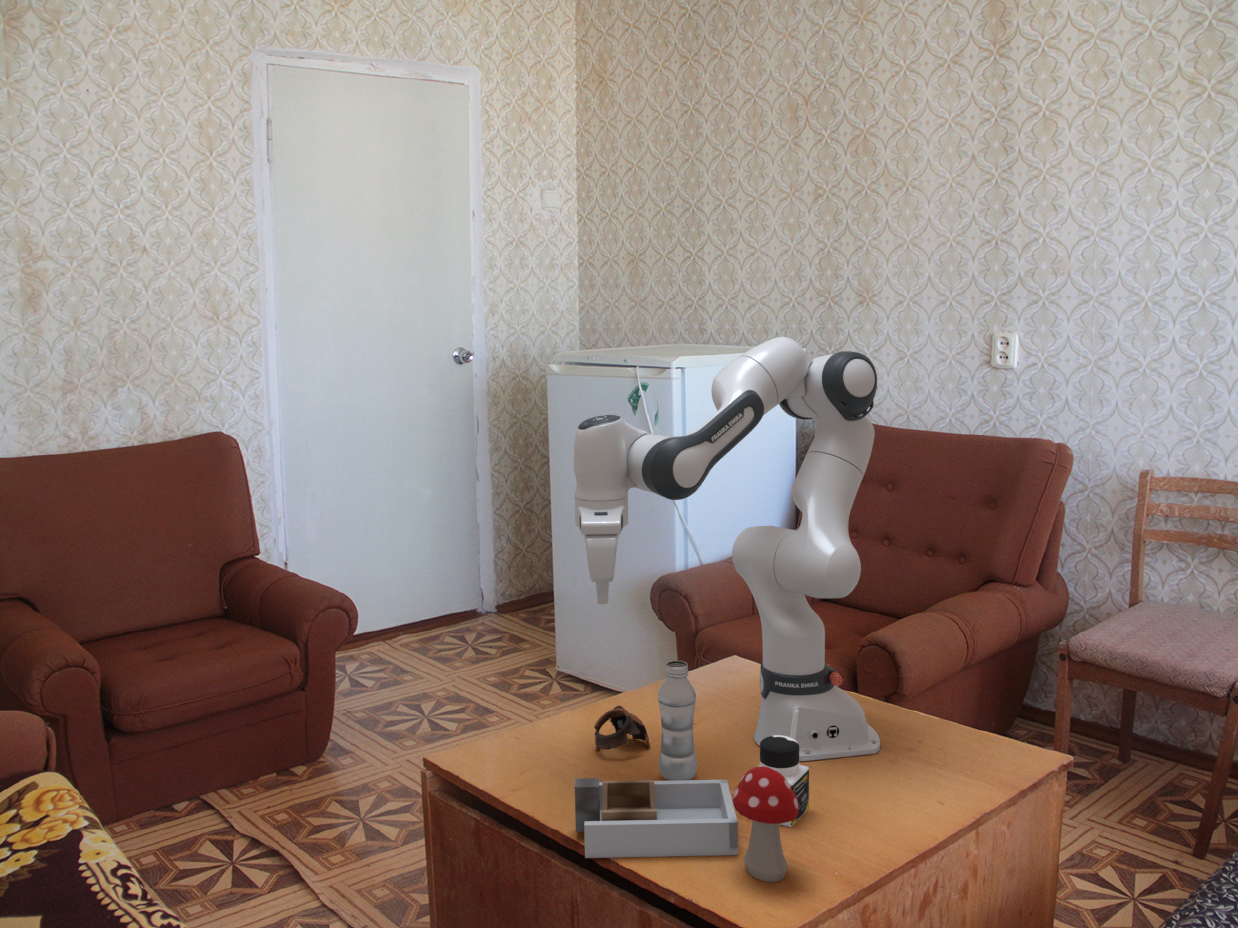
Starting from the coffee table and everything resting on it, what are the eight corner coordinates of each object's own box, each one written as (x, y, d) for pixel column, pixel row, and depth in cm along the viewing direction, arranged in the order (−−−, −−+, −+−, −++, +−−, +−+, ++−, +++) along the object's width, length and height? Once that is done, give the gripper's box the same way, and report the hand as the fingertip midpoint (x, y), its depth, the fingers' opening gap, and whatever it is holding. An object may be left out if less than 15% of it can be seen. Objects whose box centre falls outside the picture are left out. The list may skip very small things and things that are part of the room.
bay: (727, 809, 163) (726, 779, 162) (737, 854, 149) (737, 822, 149) (587, 812, 163) (586, 782, 162) (585, 857, 149) (584, 825, 148)
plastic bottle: (671, 790, 170) (670, 673, 167) (651, 774, 176) (649, 661, 173) (705, 781, 173) (704, 666, 170) (684, 766, 179) (683, 655, 176)
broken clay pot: (658, 757, 184) (639, 725, 181) (611, 781, 184) (591, 749, 181) (645, 717, 195) (627, 685, 192) (601, 739, 195) (581, 708, 192)
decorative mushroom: (812, 878, 143) (813, 775, 141) (763, 896, 138) (763, 790, 136) (767, 847, 151) (767, 749, 149) (719, 863, 147) (719, 763, 145)
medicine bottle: (791, 828, 157) (792, 752, 155) (748, 817, 161) (748, 743, 159) (809, 809, 163) (810, 736, 161) (767, 798, 167) (767, 727, 165)
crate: (654, 809, 161) (653, 766, 160) (657, 842, 151) (656, 796, 150) (577, 810, 161) (576, 767, 160) (574, 843, 151) (573, 798, 150)
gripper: (584, 503, 182) (586, 580, 183) (580, 526, 161) (582, 612, 163) (620, 502, 182) (621, 579, 183) (621, 525, 161) (622, 611, 163)
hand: (603, 595), depth 173 cm, fingers open, 8 cm apart
